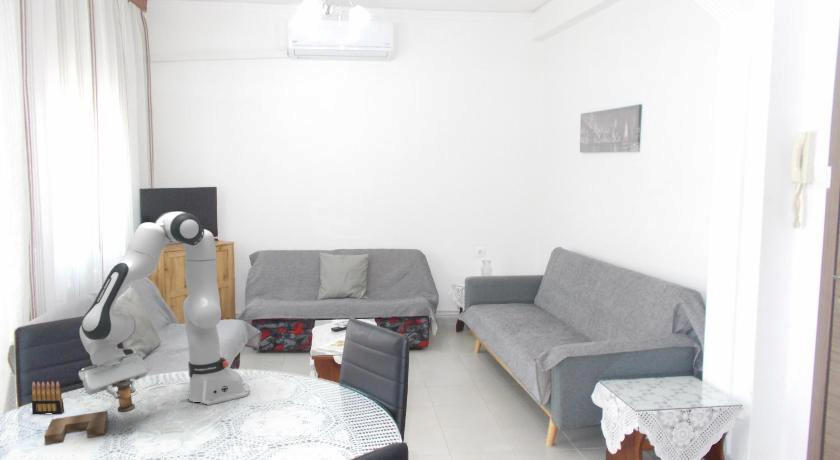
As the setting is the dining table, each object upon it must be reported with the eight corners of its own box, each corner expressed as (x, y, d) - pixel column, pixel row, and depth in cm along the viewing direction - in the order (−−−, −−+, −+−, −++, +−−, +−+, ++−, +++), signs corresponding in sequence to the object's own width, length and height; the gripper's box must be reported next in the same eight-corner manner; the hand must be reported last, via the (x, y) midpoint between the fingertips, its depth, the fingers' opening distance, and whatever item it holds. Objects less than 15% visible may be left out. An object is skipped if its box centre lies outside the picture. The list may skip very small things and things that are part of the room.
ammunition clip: (32, 414, 225) (29, 382, 224) (35, 412, 227) (32, 380, 225) (61, 414, 225) (58, 382, 223) (64, 412, 226) (61, 380, 225)
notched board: (108, 418, 219) (107, 410, 219) (104, 435, 206) (103, 426, 206) (52, 427, 213) (51, 419, 213) (45, 444, 200) (44, 436, 200)
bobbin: (135, 404, 212) (132, 379, 210) (134, 410, 207) (131, 384, 206) (118, 407, 210) (115, 381, 209) (117, 413, 205) (114, 387, 204)
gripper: (78, 365, 202) (96, 400, 197) (139, 347, 218) (157, 379, 213) (73, 375, 206) (91, 410, 201) (134, 357, 221) (151, 389, 217)
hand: (125, 394), depth 207 cm, fingers closed on bobbin, 4 cm apart
